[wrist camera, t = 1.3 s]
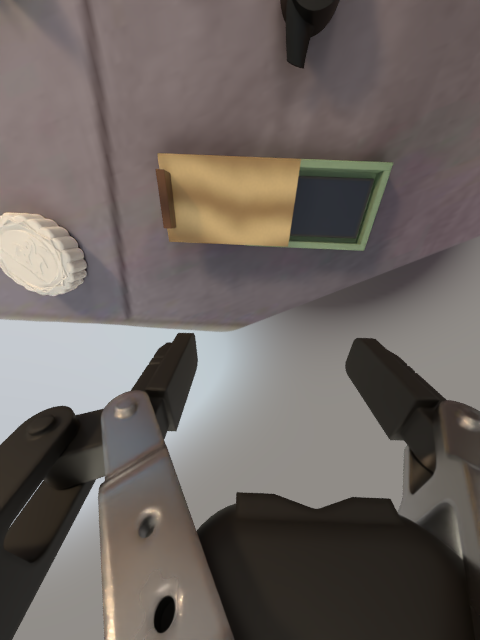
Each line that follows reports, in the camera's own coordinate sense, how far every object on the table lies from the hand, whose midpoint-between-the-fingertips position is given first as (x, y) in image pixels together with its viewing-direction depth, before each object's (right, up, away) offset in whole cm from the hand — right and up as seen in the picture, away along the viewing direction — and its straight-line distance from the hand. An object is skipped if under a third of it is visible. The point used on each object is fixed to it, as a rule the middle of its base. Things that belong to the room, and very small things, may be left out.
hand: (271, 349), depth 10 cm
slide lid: (-3, +17, +15) cm, 23 cm away
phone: (+8, +17, +17) cm, 25 cm away
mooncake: (-33, +12, +21) cm, 41 cm away
